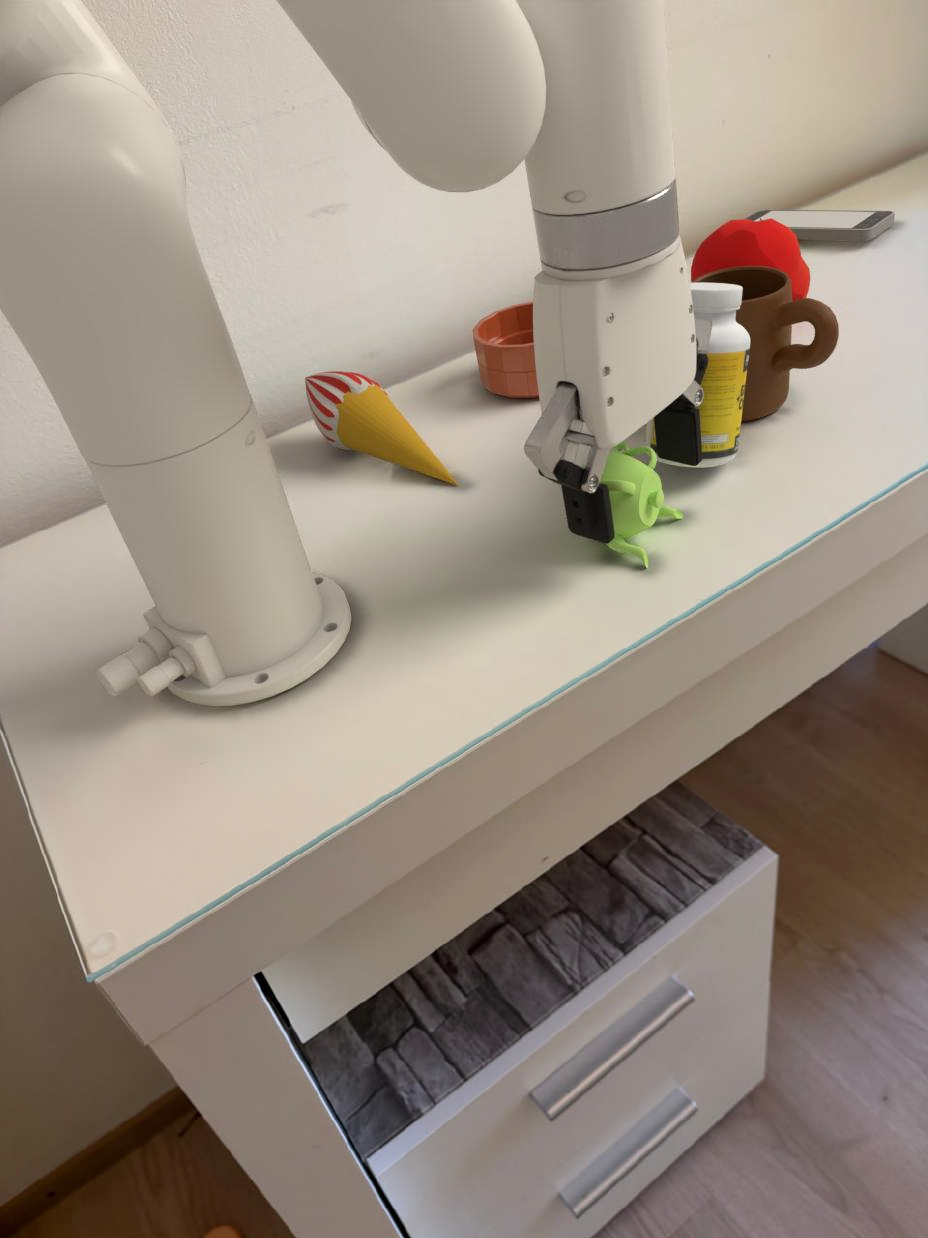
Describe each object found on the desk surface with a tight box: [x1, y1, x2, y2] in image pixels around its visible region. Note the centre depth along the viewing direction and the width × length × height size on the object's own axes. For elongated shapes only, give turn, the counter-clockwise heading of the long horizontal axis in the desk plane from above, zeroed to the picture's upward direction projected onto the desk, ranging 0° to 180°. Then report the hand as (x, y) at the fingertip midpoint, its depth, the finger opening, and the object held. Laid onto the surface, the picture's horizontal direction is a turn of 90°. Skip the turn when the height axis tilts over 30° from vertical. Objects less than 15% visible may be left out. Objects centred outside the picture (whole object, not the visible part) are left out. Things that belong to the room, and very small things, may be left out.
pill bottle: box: [644, 282, 750, 468], centre depth 64 cm, size 6×6×12 cm
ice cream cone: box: [304, 370, 460, 487], centre depth 76 cm, size 6×6×20 cm
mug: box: [690, 266, 840, 422], centre depth 69 cm, size 12×8×9 cm, turn 40°
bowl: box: [472, 301, 539, 399], centre depth 83 cm, size 10×10×5 cm
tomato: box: [690, 218, 811, 301], centre depth 81 cm, size 9×10×8 cm
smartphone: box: [744, 209, 896, 242], centre depth 99 cm, size 7×1×15 cm
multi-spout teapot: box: [581, 442, 684, 569], centre depth 60 cm, size 6×5×6 cm
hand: (637, 496), depth 61 cm, fingers open, 9 cm apart
